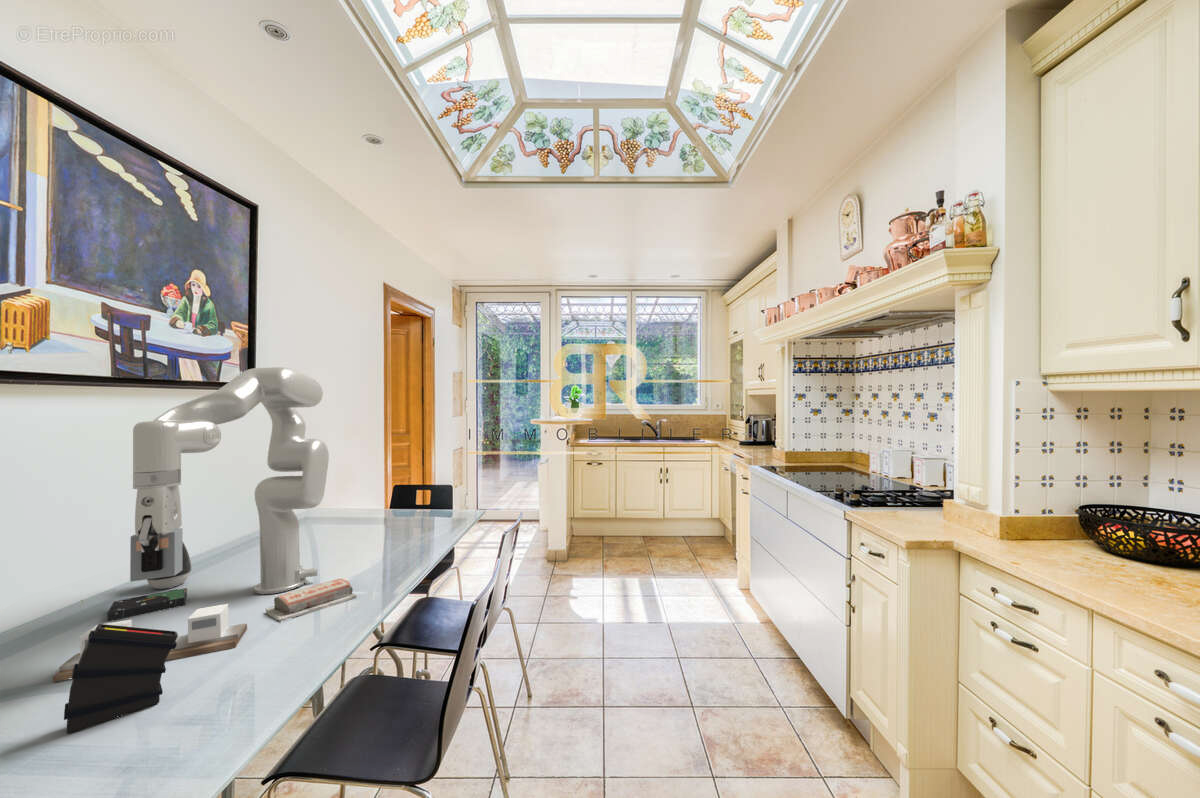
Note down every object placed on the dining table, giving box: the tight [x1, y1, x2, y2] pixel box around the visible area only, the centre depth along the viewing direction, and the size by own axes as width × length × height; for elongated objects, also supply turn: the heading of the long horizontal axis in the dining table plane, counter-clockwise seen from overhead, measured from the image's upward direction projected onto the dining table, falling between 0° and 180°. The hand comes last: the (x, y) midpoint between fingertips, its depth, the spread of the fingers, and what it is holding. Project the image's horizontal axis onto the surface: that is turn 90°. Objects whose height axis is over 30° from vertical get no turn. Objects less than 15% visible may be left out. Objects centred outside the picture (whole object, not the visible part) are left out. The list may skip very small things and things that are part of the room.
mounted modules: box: [79, 603, 230, 658], centre depth 101 cm, size 22×6×5 cm, turn 115°
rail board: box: [52, 623, 248, 683], centre depth 101 cm, size 28×10×2 cm, turn 115°
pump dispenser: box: [146, 540, 192, 590], centre depth 144 cm, size 10×10×15 cm
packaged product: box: [265, 578, 358, 622], centre depth 125 cm, size 18×5×10 cm
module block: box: [129, 527, 183, 582], centre depth 101 cm, size 7×5×9 cm
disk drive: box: [106, 587, 188, 622], centre depth 128 cm, size 10×3×15 cm
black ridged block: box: [63, 623, 179, 735], centre depth 80 cm, size 4×13×15 cm, turn 136°
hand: (157, 566), depth 101 cm, fingers closed on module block, 4 cm apart
